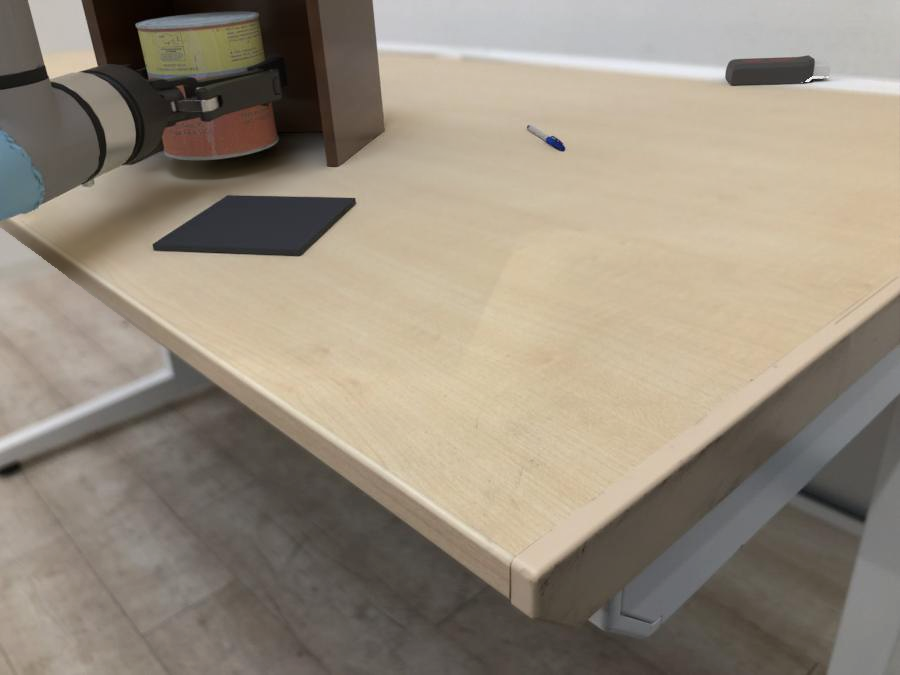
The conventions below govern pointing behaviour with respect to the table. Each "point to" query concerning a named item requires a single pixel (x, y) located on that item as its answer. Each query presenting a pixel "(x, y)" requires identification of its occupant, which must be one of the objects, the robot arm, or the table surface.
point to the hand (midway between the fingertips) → (228, 71)
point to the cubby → (283, 35)
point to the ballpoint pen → (547, 138)
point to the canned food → (205, 56)
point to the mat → (257, 225)
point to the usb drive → (775, 70)
